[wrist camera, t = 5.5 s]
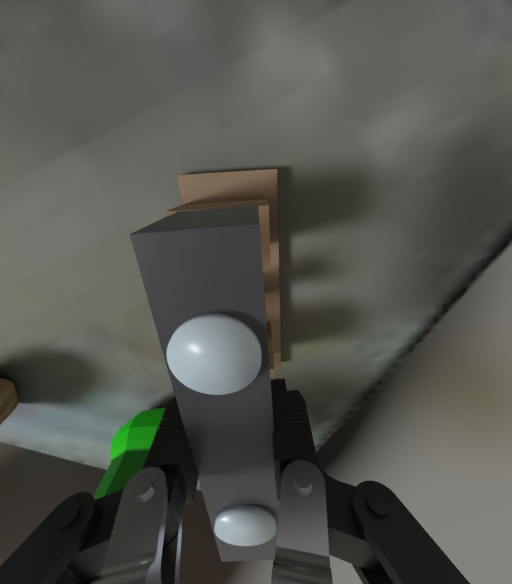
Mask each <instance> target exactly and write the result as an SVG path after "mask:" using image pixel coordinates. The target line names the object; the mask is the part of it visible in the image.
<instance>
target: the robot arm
mask: <svg viewBox="0 0 512 584" xmlns="http://www.w3.org/2000/svg"><path fill="white" fill-rule="evenodd" d="M271 394H272V408H273V423H274V433H272V438H273V455H274V469H275V482H276V495H277V501H279V500H280V504H279V517H278V529H277V542H276V553H275V559H274V562H273V569H272V578H271V579H272V580H271V584H333V582H332V574H331V569H330V560H329V559H330V558H329V555H332V556H334V557H337V558H339V559H342V560H344V561H346V562H349V563H351V564H352V565H353V567H354V568H355V570H356V572H357V574H358V576H359V577H360V579H361V581H362V583H363V584H470V583H469V582H468V581H467V580H466V579H465V577H464V576H463V575H462V574H461V573H460V571H459V570H458V569H457V568H456V567H455V565H454V564H453V563H452V562H451V561H450V559H449V558H448V557H447V556H446V555H445V554H444V552H443V551H442V550H441V549H440V547H439V546H438V545H437V544H436V543H435V542H434V540H433V539H432V538H431V537H430V536H429V534H428V533H427V532H426V531H425V530H424V529H423V527H422V526H421V525H420V524H419V523H418V521H417V520H416V519H415V518H414V517H413V515H412V514H411V513H410V512H409V511H408V509H407V508H406V507H405V506H404V505H403V503H402V502H401V501H400V500H399V499H398V498H397V496H396V495H395V494H394V493H393V492H392V491H391V490H390V489H389V488H387V487H386V486H384V485H383V484H381V483H379V482H375V481H364V482H362V483H360V484H358V485H357V487H356V486H352V485H349V484H346V483H343V482H340V481H337V480H335V479H333V478H332V477H330V476H329V475H328V474H327V473H325V472H324V471H323V469H322V468H321V466H320V464H319V462H318V460H317V456H316V451H315V446H314V442H313V437H312V432H311V428H310V423H309V418H308V414H307V409H306V404H305V400H304V398H303V397H302V395H301V394H300V393H299V391H298V390H294V391H287V390H286V383H285V379H271ZM197 481H198V473H197V469H196V466H195V462H194V458H193V455H192V451H191V448H190V444H189V440H188V437H187V436H186V432H185V429H184V425H183V422H182V418H181V415H180V411H179V408H178V404H177V400H176V397H174V398H173V400H172V401H171V402H170V403H169V404H168V406H167V407H166V409H165V412H164V414H163V417H162V420H161V422H160V425H159V427H158V430H157V432H156V435H155V438H154V440H153V443H152V445H151V448H150V451H149V453H148V456H147V458H146V461H145V463H144V466H143V468H142V470H141V471H139V472H138V473H136V474H135V475H134V476H133V477H132V478H131V479H130V480H129V481H128V483H127V484H126V486H125V487H124V488H123V489H121V490H119V491H116V492H114V493H111V494H109V495H106V496H104V497H101V498H98V499H96V500H95V499H94V497H93V496H92V495H91V494H89V493H86V492H82V493H77V494H74V495H73V496H70V497H69V498H67V499H66V500H64V501H63V502H62V503H61V504H60V505H58V506H57V507H56V508H55V509H54V511H52V512H51V513H50V515H49V516H48V517H47V518H46V519H45V520H44V521H43V522H42V523H41V524H40V525H39V526H38V527H37V528H36V529H35V530H34V531H33V532H32V534H31V535H30V536H29V537H28V538H27V539H26V540H25V541H24V542H23V543H22V544H21V545H20V546H19V547H18V548H17V550H15V552H14V553H13V554H12V555H11V556H10V557H9V558H8V559H7V560H6V561H5V562H4V563H3V564H2V565H1V566H0V584H178V578H179V565H180V551H181V536H182V520H181V518H182V513H183V508H184V504H193V502H194V497H195V492H196V487H197Z"/></svg>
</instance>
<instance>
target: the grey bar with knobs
mask: <svg viewBox="0 0 512 584" xmlns="http://www.w3.org/2000/svg"><path fill="white" fill-rule="evenodd" d="M130 237H131V240H132V244H133V247H134V251H135V254H136V258H137V261H138V265H139V269H140V272H141V276H142V279H143V283H144V286H145V290H146V294H147V297H148V301H149V304H150V308H151V311H152V315H153V318H154V322H155V326H156V329H157V333H158V336H159V340H160V343H161V347H162V351H163V354H164V358H165V361H166V365H167V368H168V372H169V375H170V379H171V383H172V386H173V390H174V393H175V397H176V400H177V404H178V408H179V411H180V415H181V418H182V422H183V425H184V429H185V432H186V436H187V437H188V440H189V444H190V448H191V451H192V455H193V458H194V462H195V466H196V469H197V473H198V479H199V482H200V486H201V489H202V493H203V497H204V500H205V503H206V507H207V511H208V514H209V518H210V521H211V525H212V529H213V532H214V536H215V539H216V543H217V546H218V550H219V554H220V557H221V561H222V562H225V561H253V560H274V559H275V553H276V542H277V529H278V517H279V501H277V495H276V482H275V469H274V455H273V438H272V433H274V423H273V408H272V394H271V379H270V365H269V350H268V336H267V322H266V308H265V294H264V280H263V265H262V251H261V237H260V223H259V209H258V205H252V206H240V207H228V208H215V209H203V210H191V211H178V212H176V213H174V214H172V215H170V216H167V217H165V218H163V219H161V220H159V221H157V222H155V223H153V224H151V225H148V226H146V227H144V228H142V229H140V230H138V231H136V232H134V233H132V234H130Z"/></svg>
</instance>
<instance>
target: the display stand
mask: <svg viewBox="0 0 512 584" xmlns="http://www.w3.org/2000/svg"><path fill="white" fill-rule="evenodd" d="M177 178H178V184H179V190H180V196H181V202H182V205H181V206H179V207H176V208H173V209H171V210H168V211H166V215H167V216H170V215H172V214H174V213H176V212H178V211H191V210H203V209H215V208H228V207H240V206H252V205H258V209H259V223H260V237H261V251H262V265H263V280H264V294H265V308H266V322H267V336H268V350H269V365H270V379H275V373H274V369H275V368H281V333H280V285H279V236H278V187H277V169H267V170H251V171H235V172H219V173H203V174H187V175H177Z"/></svg>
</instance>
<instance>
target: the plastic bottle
mask: <svg viewBox="0 0 512 584" xmlns="http://www.w3.org/2000/svg"><path fill="white" fill-rule="evenodd" d="M165 409H166V408H155V409H154V410H146V411H143V412H141V413H139V414H138V415H137V416H135V417H134V418H133V419H131V420H130V421H129V422H127V423H126V424H125V425H124V426H123V427H122V428H120V429H119V430H118V431H117V433H116V435H115V437H114V439H113V442H112V449H111V464H110V466H109V467H108V469H107V471H106V473H105V476H104V477H103V479H102V481H101V483H100V485H99V487H98V489H97V491H96V493H95V495H94V499H95V500H96V499H98V498H101V497H104V496H106V495H109V494H111V493H114V492H116V491H119V490H121V489H123V488H124V487H125V486H126V484H127V483H128V481H129V480H130V479H131V478H132V477H133V476H134V475H135V474H136V473H138V472H139V471H141V470H142V468H143V466H144V463H145V461H146V458H147V456H148V453H149V451H150V448H151V445H152V443H153V440H154V438H155V435H156V432H157V430H158V427H159V425H160V422H161V420H162V417H163V414H164V412H165Z"/></svg>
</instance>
